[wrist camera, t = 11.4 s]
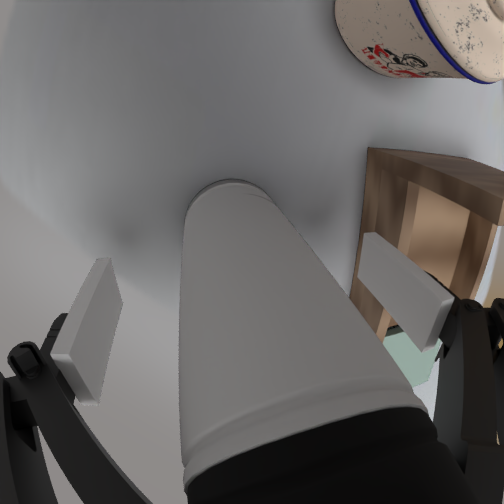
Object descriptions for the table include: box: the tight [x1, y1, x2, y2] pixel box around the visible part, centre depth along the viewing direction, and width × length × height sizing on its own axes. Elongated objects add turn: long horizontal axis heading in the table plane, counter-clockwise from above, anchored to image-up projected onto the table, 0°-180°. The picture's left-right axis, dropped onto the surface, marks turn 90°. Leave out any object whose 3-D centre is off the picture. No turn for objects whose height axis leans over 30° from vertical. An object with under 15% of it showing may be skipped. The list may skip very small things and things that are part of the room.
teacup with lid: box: [335, 0, 504, 84], centre depth 10 cm, size 12×9×12 cm
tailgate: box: [383, 327, 441, 387], centre depth 28 cm, size 2×12×9 cm
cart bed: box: [349, 147, 504, 344], centre depth 19 cm, size 16×12×12 cm
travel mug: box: [179, 179, 480, 504], centre depth 11 cm, size 6×7×20 cm
